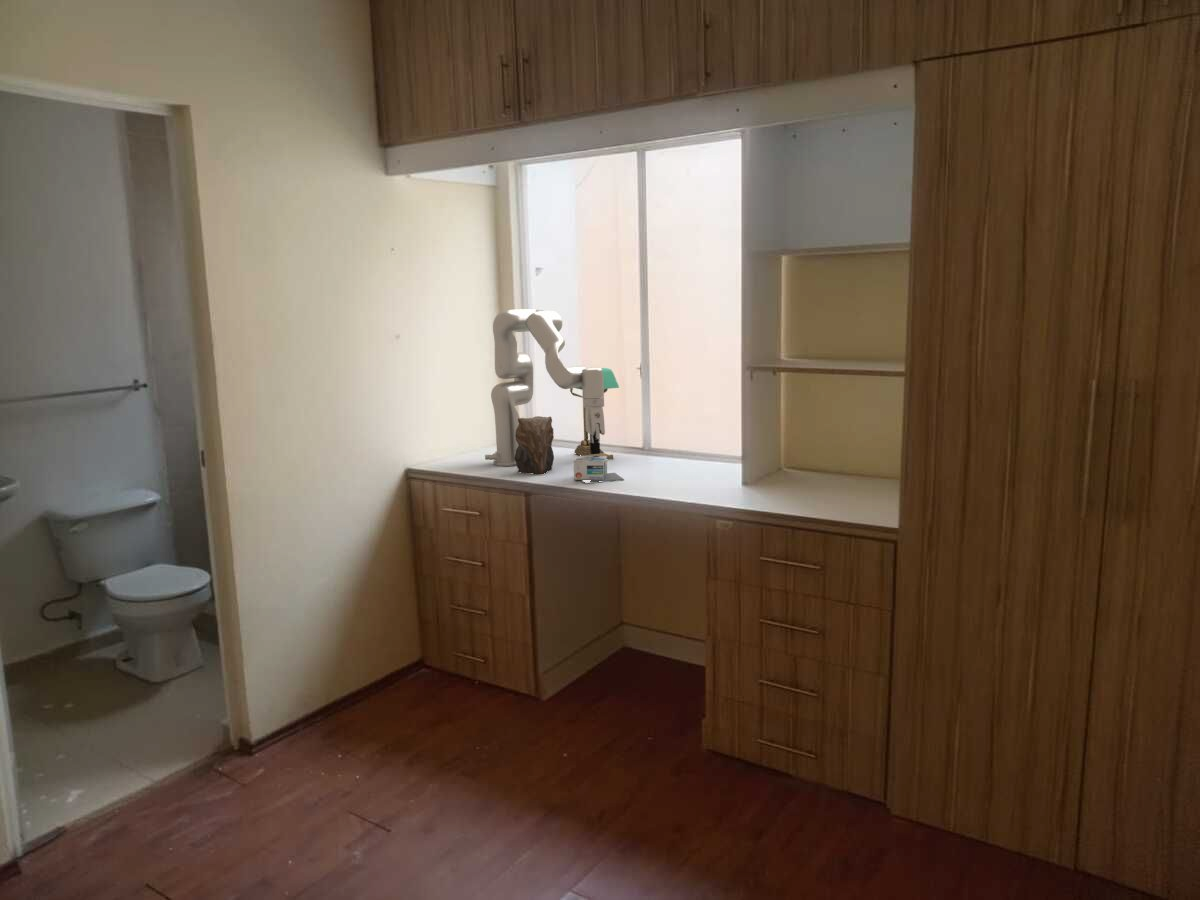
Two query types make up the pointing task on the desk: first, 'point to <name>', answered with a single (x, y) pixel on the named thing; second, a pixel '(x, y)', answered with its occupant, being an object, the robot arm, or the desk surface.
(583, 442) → the banker's lamp
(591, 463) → the light bulb box
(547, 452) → the owl
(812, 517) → the desk surface
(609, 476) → the mat
